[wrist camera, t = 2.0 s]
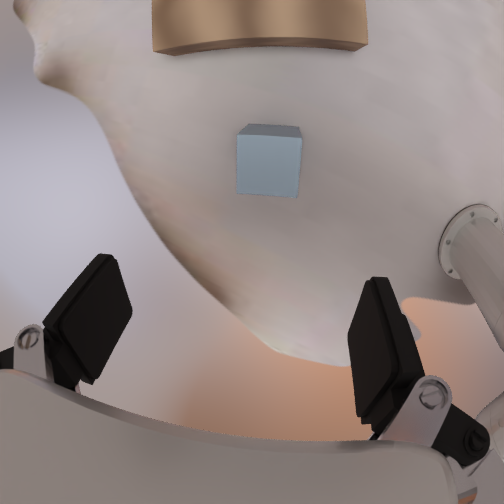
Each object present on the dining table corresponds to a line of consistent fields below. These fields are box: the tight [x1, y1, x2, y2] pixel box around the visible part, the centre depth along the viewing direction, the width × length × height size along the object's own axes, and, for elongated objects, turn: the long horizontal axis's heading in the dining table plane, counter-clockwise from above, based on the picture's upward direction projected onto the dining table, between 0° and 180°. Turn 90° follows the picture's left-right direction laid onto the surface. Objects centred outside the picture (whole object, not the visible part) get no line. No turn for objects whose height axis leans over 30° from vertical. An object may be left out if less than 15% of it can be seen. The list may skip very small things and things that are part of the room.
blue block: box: [237, 124, 302, 198], centre depth 27 cm, size 6×6×8 cm
